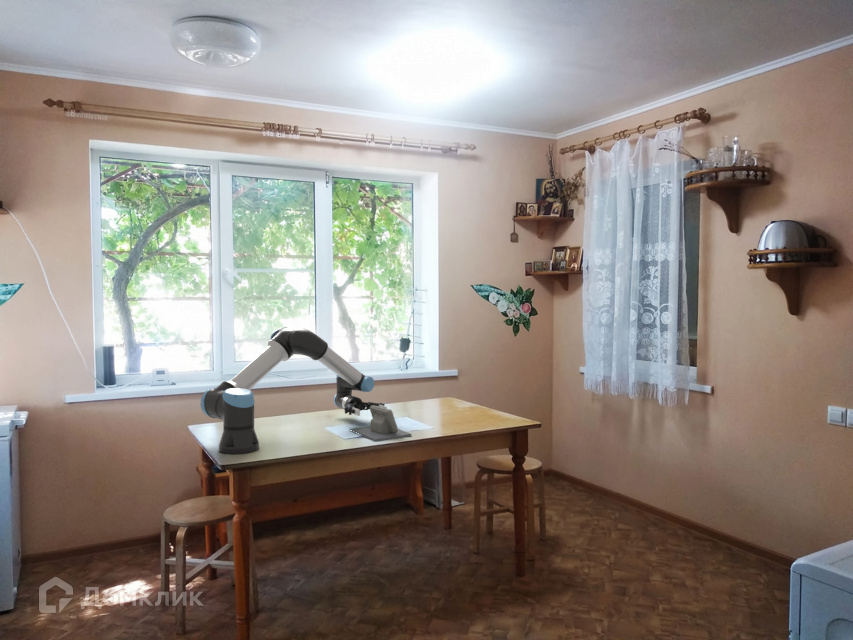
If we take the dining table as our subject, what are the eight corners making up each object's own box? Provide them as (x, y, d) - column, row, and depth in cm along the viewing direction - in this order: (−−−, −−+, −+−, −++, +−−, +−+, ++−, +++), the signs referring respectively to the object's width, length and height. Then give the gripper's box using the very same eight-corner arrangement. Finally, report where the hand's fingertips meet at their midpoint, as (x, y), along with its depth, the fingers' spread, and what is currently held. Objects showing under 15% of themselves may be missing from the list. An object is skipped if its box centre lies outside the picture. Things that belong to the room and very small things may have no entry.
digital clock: (399, 433, 259) (399, 409, 259) (380, 435, 256) (380, 410, 255) (385, 426, 274) (385, 403, 274) (366, 428, 270) (366, 404, 270)
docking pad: (374, 441, 249) (374, 438, 249) (349, 430, 270) (349, 427, 270) (411, 436, 259) (411, 433, 259) (384, 426, 279) (384, 423, 279)
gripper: (375, 409, 295) (396, 416, 277) (328, 414, 282) (347, 422, 264) (375, 394, 295) (396, 400, 277) (328, 398, 282) (347, 405, 264)
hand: (372, 411), depth 270 cm, fingers open, 13 cm apart
